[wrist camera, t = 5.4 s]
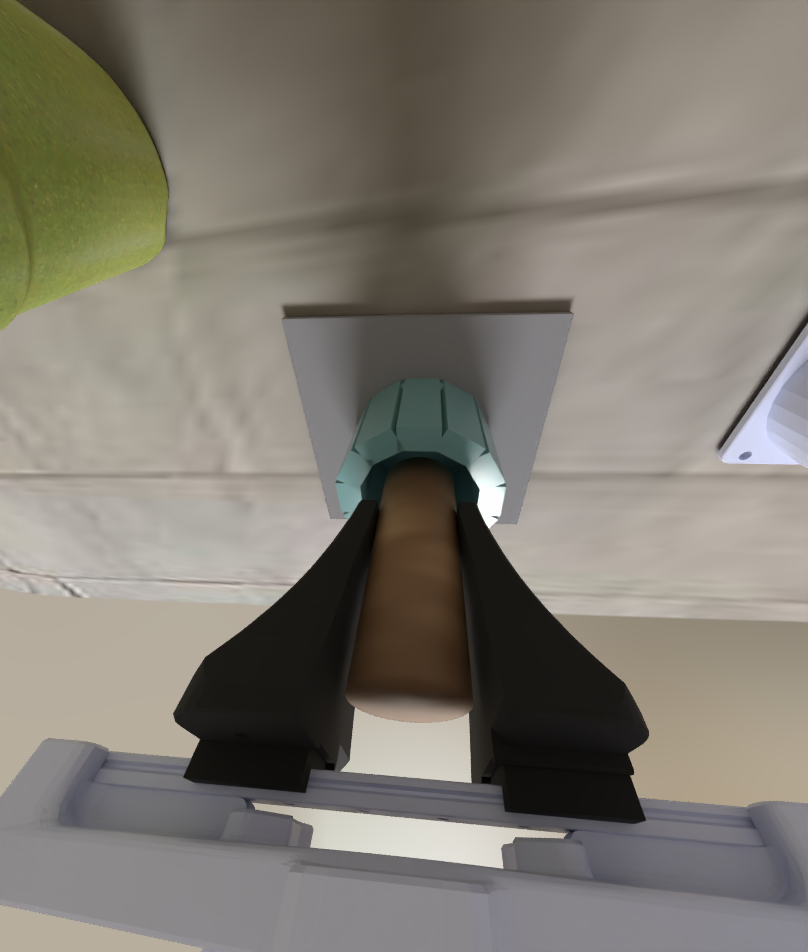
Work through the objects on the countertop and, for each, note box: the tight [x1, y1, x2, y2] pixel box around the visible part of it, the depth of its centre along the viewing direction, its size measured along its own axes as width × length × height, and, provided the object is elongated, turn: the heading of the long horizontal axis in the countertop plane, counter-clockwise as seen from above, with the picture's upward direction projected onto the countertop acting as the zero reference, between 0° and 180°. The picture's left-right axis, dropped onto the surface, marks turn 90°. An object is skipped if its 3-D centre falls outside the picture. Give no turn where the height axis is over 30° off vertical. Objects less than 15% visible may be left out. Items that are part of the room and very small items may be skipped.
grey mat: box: [282, 312, 574, 524], centre depth 17 cm, size 12×12×1 cm
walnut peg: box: [345, 457, 474, 723], centre depth 11 cm, size 3×3×8 cm
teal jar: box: [335, 378, 506, 528], centre depth 15 cm, size 7×7×5 cm
